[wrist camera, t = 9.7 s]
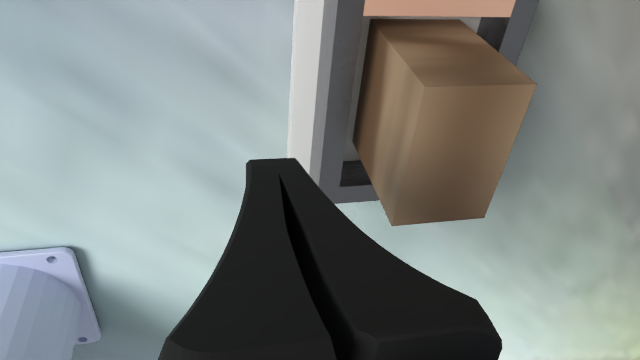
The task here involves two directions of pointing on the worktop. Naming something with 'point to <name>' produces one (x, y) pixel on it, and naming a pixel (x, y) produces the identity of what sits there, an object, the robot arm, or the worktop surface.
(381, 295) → the robot arm
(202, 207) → the worktop surface
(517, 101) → the plug block
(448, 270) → the worktop surface
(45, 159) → the worktop surface
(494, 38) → the grey tray
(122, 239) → the worktop surface
